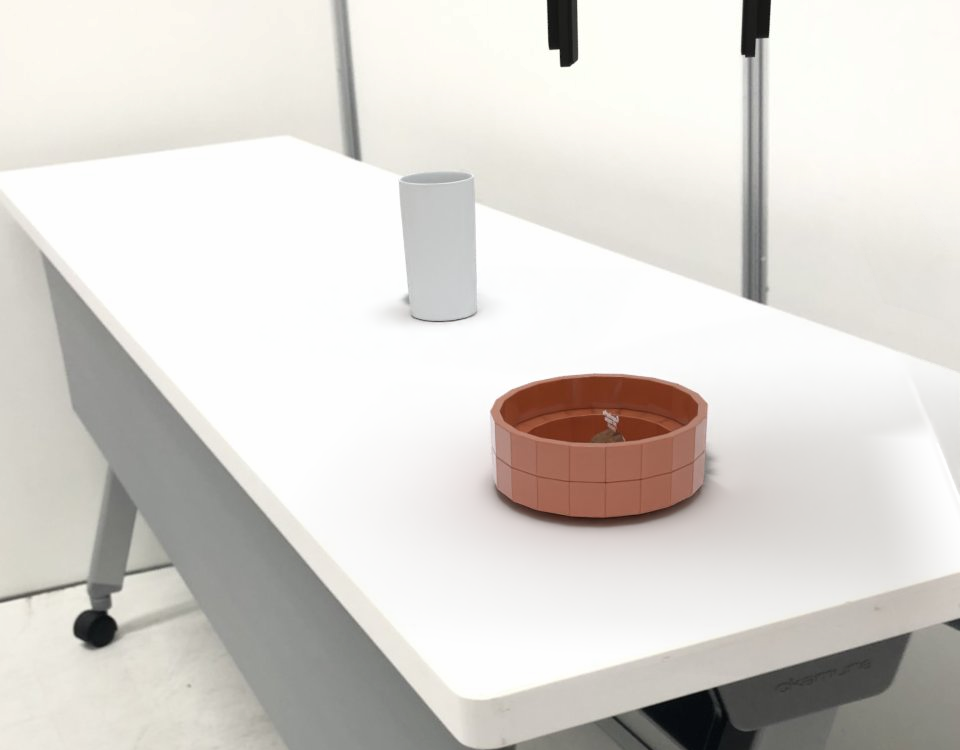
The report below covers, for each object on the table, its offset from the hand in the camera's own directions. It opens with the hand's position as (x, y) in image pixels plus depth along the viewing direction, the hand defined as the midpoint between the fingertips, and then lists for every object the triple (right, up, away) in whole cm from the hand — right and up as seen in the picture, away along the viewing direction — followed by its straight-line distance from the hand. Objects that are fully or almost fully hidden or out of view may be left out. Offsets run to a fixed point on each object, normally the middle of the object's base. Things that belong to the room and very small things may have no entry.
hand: (657, 59), depth 66 cm
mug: (-13, 0, +49) cm, 51 cm away
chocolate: (-2, -21, +11) cm, 24 cm away
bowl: (-2, -22, +11) cm, 24 cm away
